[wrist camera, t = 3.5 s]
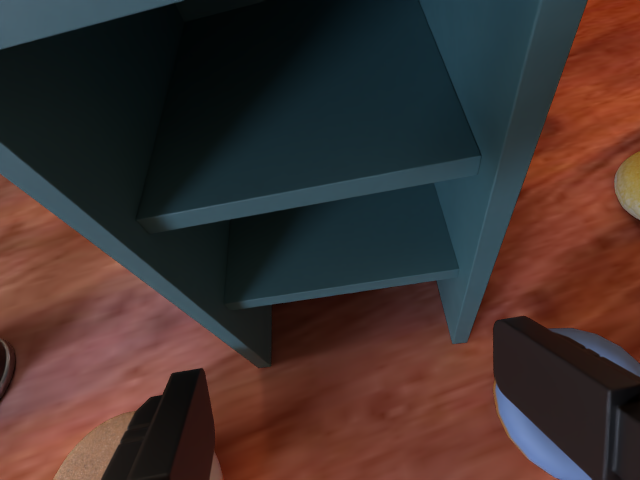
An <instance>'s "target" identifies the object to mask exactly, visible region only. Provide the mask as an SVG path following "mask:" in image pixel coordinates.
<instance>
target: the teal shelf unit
mask: <svg viewBox="0 0 640 480" xmlns="http://www.w3.org/2000/svg"><path fill="white" fill-rule="evenodd" d="M587 1H588V0H0V174H1V175H3V176H4V177H5V178H7V179H8V180H9V181H11V182H12V183H13V184H15V185H16V186H17V187H19V188H20V189H21V190H23V191H24V192H25V193H27V194H28V195H29V196H31V197H32V198H33V199H35V200H36V201H37V202H39V203H40V204H41V205H43V206H44V207H45V208H47V209H48V210H49V211H51V212H52V213H53V214H55V215H56V216H57V217H59V218H60V219H61V220H63V221H64V222H65V223H67V224H68V225H69V226H71V227H72V228H73V229H75V230H76V231H77V232H79V233H80V234H81V235H82V236H84V237H85V238H86V239H88V240H89V241H90V242H92V243H93V244H94V245H96V246H97V247H98V248H100V249H101V250H102V251H104V252H105V253H106V254H108V255H109V256H110V257H112V258H113V259H114V260H116V261H117V262H118V263H120V264H121V265H122V266H124V267H125V268H126V269H128V270H129V271H130V272H132V273H133V274H134V275H136V276H137V277H138V278H140V279H141V280H142V281H144V282H145V283H146V284H148V285H149V286H150V287H152V288H153V289H154V290H156V291H157V292H158V293H160V294H161V295H162V296H164V297H165V298H166V299H168V300H169V301H170V302H172V303H173V304H174V305H176V306H177V307H178V308H180V309H181V310H182V311H184V312H185V313H186V314H188V315H189V316H190V317H191V318H193V319H194V320H195V321H197V322H198V323H199V324H201V325H202V326H203V327H205V328H206V329H207V330H209V331H210V332H211V333H213V334H214V335H215V336H217V337H218V338H219V339H221V340H222V341H223V342H225V343H226V344H227V345H229V346H230V347H231V348H233V349H234V350H235V351H237V352H238V353H239V354H241V355H242V356H243V357H245V358H246V359H247V360H249V361H250V362H251V363H253V364H254V365H255V366H257V367H258V368H263V367H271V334H272V304H279V303H286V302H292V301H299V300H306V299H313V298H320V297H327V296H334V295H340V294H347V293H354V292H361V291H368V290H375V289H382V288H388V287H395V286H402V285H409V284H416V283H423V282H429V281H437V285H438V289H439V293H440V297H441V301H442V305H443V309H444V313H445V317H446V321H447V324H448V328H449V332H450V336H451V340H452V344H457V343H466V342H467V341H468V338H469V335H470V332H471V330H472V327H473V324H474V321H475V318H476V315H477V313H478V310H479V307H480V304H481V301H482V298H483V296H484V293H485V290H486V287H487V284H488V281H489V279H490V276H491V273H492V270H493V267H494V264H495V262H496V259H497V256H498V253H499V250H500V247H501V245H502V242H503V239H504V236H505V233H506V230H507V228H508V225H509V222H510V219H511V216H512V213H513V211H514V208H515V205H516V202H517V199H518V196H519V194H520V191H521V188H522V185H523V182H524V179H525V177H526V174H527V171H528V168H529V165H530V162H531V160H532V157H533V154H534V151H535V148H536V145H537V143H538V140H539V137H540V134H541V131H542V128H543V126H544V123H545V120H546V117H547V114H548V111H549V109H550V106H551V103H552V100H553V97H554V94H555V92H556V89H557V86H558V83H559V80H560V77H561V75H562V72H563V69H564V66H565V63H566V60H567V58H568V55H569V52H570V49H571V46H572V43H573V41H574V38H575V35H576V32H577V29H578V26H579V24H580V21H581V18H582V15H583V12H584V9H585V7H586V4H587Z"/></svg>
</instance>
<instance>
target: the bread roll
mask: <svg viewBox="0 0 640 480" xmlns="http://www.w3.org/2000/svg"><path fill="white" fill-rule="evenodd" d="M614 184H615V185H614V187H615V193H616V195H617V198H618V200H619V202H620V204H621V205H622V206H623V208H624V209H625V210H626V211H627V212H628V213H629V214H631V215H632V216H634V217H635V218H637V219H639V220H640V151H639V152H637V153H635V154H633V155H632V156H630V157H629V158H628V159H626V160H625V161H624V162H623V163H622V164H621V166H620V167H619V169H618V171H617V172H616V175H615V180H614Z"/></svg>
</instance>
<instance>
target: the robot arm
mask: <svg viewBox="0 0 640 480" xmlns="http://www.w3.org/2000/svg"><path fill="white" fill-rule="evenodd" d="M14 366H15V354H14V350H13V348H12V346H11V345H10V343H8V342H7V341H6V340H4V339H1V338H0V399H1V397H2V396H3V394H4V392H5V391H6V389H7V387H8V385H9V383H10V380H11V378H12V375H13V371H14ZM493 370H494V377H495V381H496V383H497V386H498V388H499V389H500V391H501V392H502V394H503V395H504V396H505V397H506V398H507V399H508V400H509V401H510V402H511V403H513V404H514V405H515V406H516V407H517V408H518V409H519V410H520V411H521V412H522V413H523V414H524V415H525V416H526V417H527V418H528V419H529V420H530V421H531V422H532V423H533V424H535V425H536V426H537V427H538V428H539V429H540V430H541V431H542V432H543V433H544V434H545V435H546V436H547V437H548V438H549V439H550V440H551V441H552V442H553V443H554V444H556V445H557V446H558V447H559V448H560V449H561V450H562V451H563V452H564V453H565V454H566V455H567V456H568V457H569V458H570V459H571V460H572V461H573V462H574V463H575V464H577V465H578V466H579V467H580V468H581V469H582V470H583V471H584V472H585V473H586V474H587V475H588V476H589V477H590V478H591V479H592V480H640V377H639V376H637V375H635V374H634V373H632V372H630V371H628V370H626V369H625V368H623V367H621V366H619V365H618V364H616V363H614V362H612V361H610V360H609V359H607V358H605V357H600V354H598V353H596V352H594V351H593V350H591V349H589V348H588V349H586V347H585V346H584V345H582V344H580V343H578V342H577V341H575V340H573V339H571V338H570V337H567V336H564V335H561V334H558V333H555V332H552V331H551V330H549V329H547V328H545V327H544V326H542V325H540V324H538V323H537V322H535V321H533V320H531V319H530V318H528V317H526V316H519V317H513V318H507V319H501V320H497V321H496V322H495V324H494V327H493ZM214 448H215V428H214V420H213V414H212V409H211V403H210V397H209V392H208V386H207V381H206V375H205V372H204V370H203V368H200V369H194V370H188V371H182V372H176V373H172V374H171V376H170V378H169V381H168V383H167V385H166V388H165V390H164V392H163V395H160V396H154V397H150V398H149V399H148V400H147V401H146V402H145V403H144V404H143V405H142V406H141V407H140V408H139V409H138V410H137V411H136V412H135V413H134V415H133V417H132V419H131V421H130V423H129V425H128V427H127V431H125V433H124V435H123V437H122V439H121V441H120V445H118V447H117V449H116V451H115V452H114V454H113V456H112V458H111V460H110V462H109V464H108V466H107V468H106V470H105V472H104V474H103V476H102V478H101V480H209V479H210V473H211V467H212V461H213V455H214Z"/></svg>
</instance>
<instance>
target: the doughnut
mask: <svg viewBox="0 0 640 480" xmlns="http://www.w3.org/2000/svg"><path fill="white" fill-rule="evenodd" d="M549 330H551V331H552V332H555V333H558V334H561V335H564V336H567V337H570V338H571V339H573V340H575V341H577V342H578V343H580V344H582V345H584V346H585V347H586V349H588V348H589V349H591V350H593V351H594V352H596V353H598V354H600V357H605V358H607V359H609V360H610V361H612V362H614V363H616V364H618V365H619V366H621V367H623V368H625V369H626V370H628V371H630V372H632V373H634V374H635V375H637V376H639V377H640V363H638V362H637V361H636V360H635V359H634V358H633V357H632V356H631V355H629V354H628V353H627V352H626V351H625V350H624V349H623V348H621V347H620V346H618V345H616V344H614V343H612V342H611V341H609V340H607V339H605V338H603V337H601V336H599V335H597V334H594V333H590V332H586V331H582V330H578V329H574V328H552V329H549ZM493 394H494V400H495V406H496V412H497V415H498V417H499V419H500V421H501V423H502V425H503V427H504V429H505V431H506V434H507V436H508V437H509V438H510V439H511V441H512V442H513V443H514V444H515V445H516V446H517V448H518V449H519V450H520V451H521V452H522V453H523V455H524V456H525V457H526V458H527V459H528V460H530V461H531V462H533V463H534V464H535V465H537V466H538V467H540V468H541V469H543V470H544V471H545V472H547V473H548V474H550V475H551V476H553V477H555V478H558V479H560V480H592V479H591V478H590V477H589V476H588V475H587V474H586V473H585V472H584V471H583V470H582V469H581V468H580V467H579V466H578V465H577V464H575V463H574V462H573V461H572V460H571V459H570V458H569V457H568V456H567V455H566V454H565V453H564V452H563V451H562V450H561V449H560V448H559V447H558V446H557V445H556V444H554V443H553V442H552V441H551V440H550V439H549V438H548V437H547V436H546V435H545V434H544V433H543V432H542V431H541V430H540V429H539V428H538V427H537V426H536V425H535V424H533V423H532V422H531V421H530V420H529V419H528V418H527V417H526V416H525V415H524V414H523V413H522V412H521V411H520V410H519V409H518V408H517V407H516V406H515V405H514V404H513V403H511V402H510V401H509V400H508V399H507V398H506V397H505V396H504V395H503V394H502V392H501V391H500V389H499V388H498V386H497V383H496V381H495V380H494V386H493Z"/></svg>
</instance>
